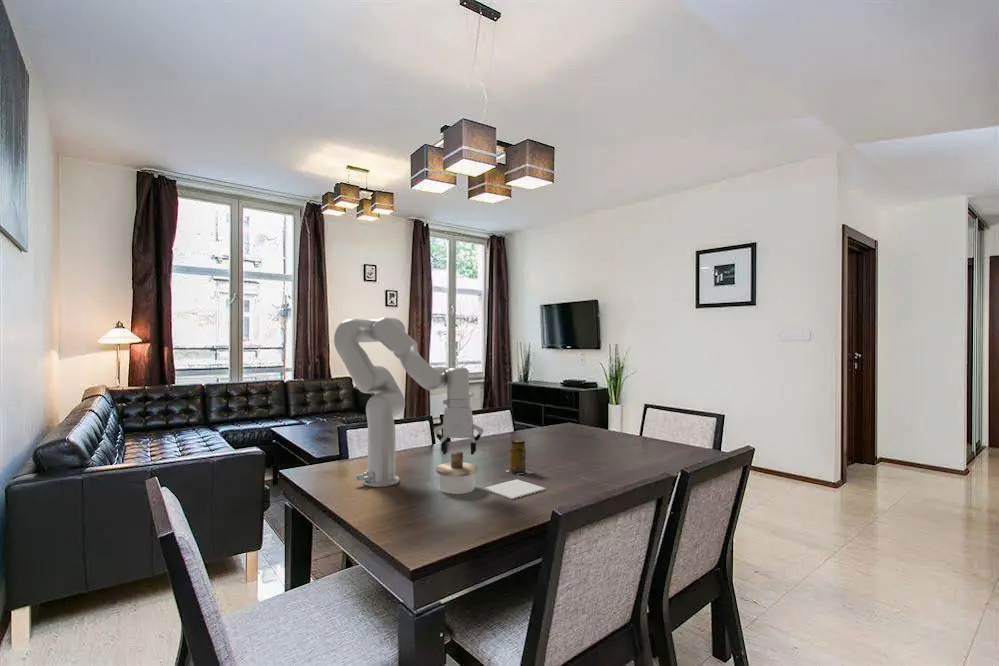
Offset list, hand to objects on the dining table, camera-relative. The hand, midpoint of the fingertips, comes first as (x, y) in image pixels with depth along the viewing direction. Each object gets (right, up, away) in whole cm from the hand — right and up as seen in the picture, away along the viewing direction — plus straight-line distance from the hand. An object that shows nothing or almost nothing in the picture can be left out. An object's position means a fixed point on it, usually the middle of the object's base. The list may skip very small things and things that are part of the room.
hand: (458, 453), depth 172 cm
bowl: (-1, -12, 0) cm, 12 cm away
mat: (+19, -12, -1) cm, 23 cm away
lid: (-1, -6, 0) cm, 6 cm away
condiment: (+21, -13, +22) cm, 33 cm away
